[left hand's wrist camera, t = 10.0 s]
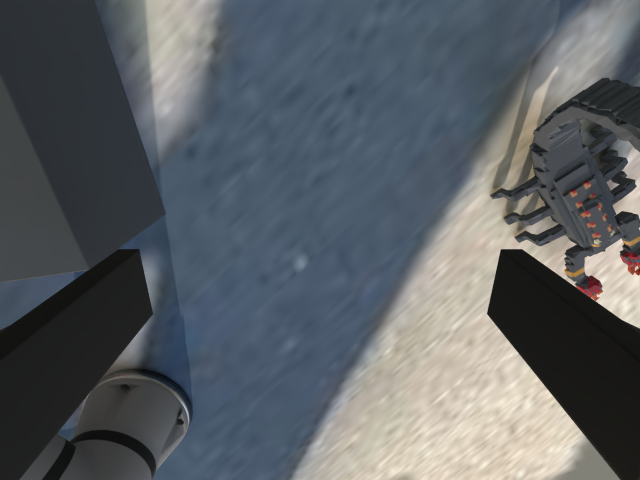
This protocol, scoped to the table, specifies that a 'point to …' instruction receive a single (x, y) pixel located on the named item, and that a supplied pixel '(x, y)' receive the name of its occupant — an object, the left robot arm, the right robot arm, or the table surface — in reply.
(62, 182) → the bar
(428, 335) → the table surface
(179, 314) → the table surface
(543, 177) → the toy
